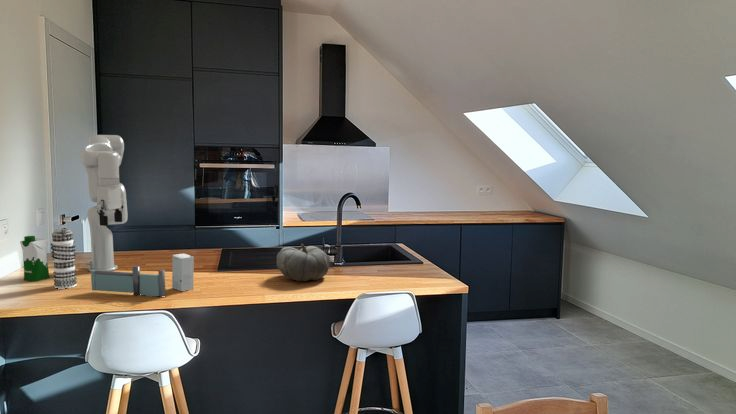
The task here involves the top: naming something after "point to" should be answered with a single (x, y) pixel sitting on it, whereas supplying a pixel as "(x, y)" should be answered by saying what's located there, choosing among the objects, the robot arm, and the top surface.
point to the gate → (112, 281)
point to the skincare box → (182, 272)
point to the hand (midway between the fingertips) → (111, 223)
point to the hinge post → (136, 280)
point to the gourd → (303, 263)
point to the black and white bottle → (63, 259)
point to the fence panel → (153, 284)
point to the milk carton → (35, 258)
